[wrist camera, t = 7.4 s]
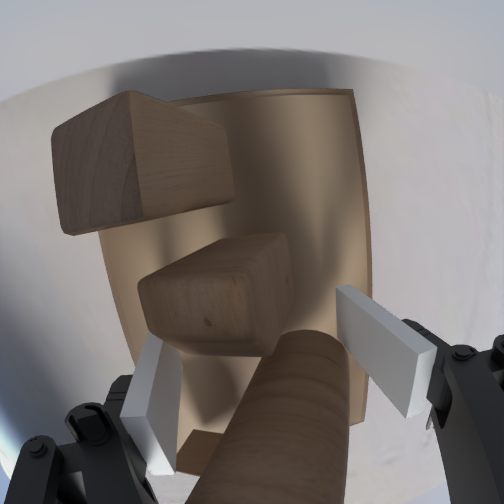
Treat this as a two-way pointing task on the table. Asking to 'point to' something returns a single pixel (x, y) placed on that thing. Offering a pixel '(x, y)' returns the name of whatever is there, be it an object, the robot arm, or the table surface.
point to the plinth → (262, 231)
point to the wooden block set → (214, 301)
